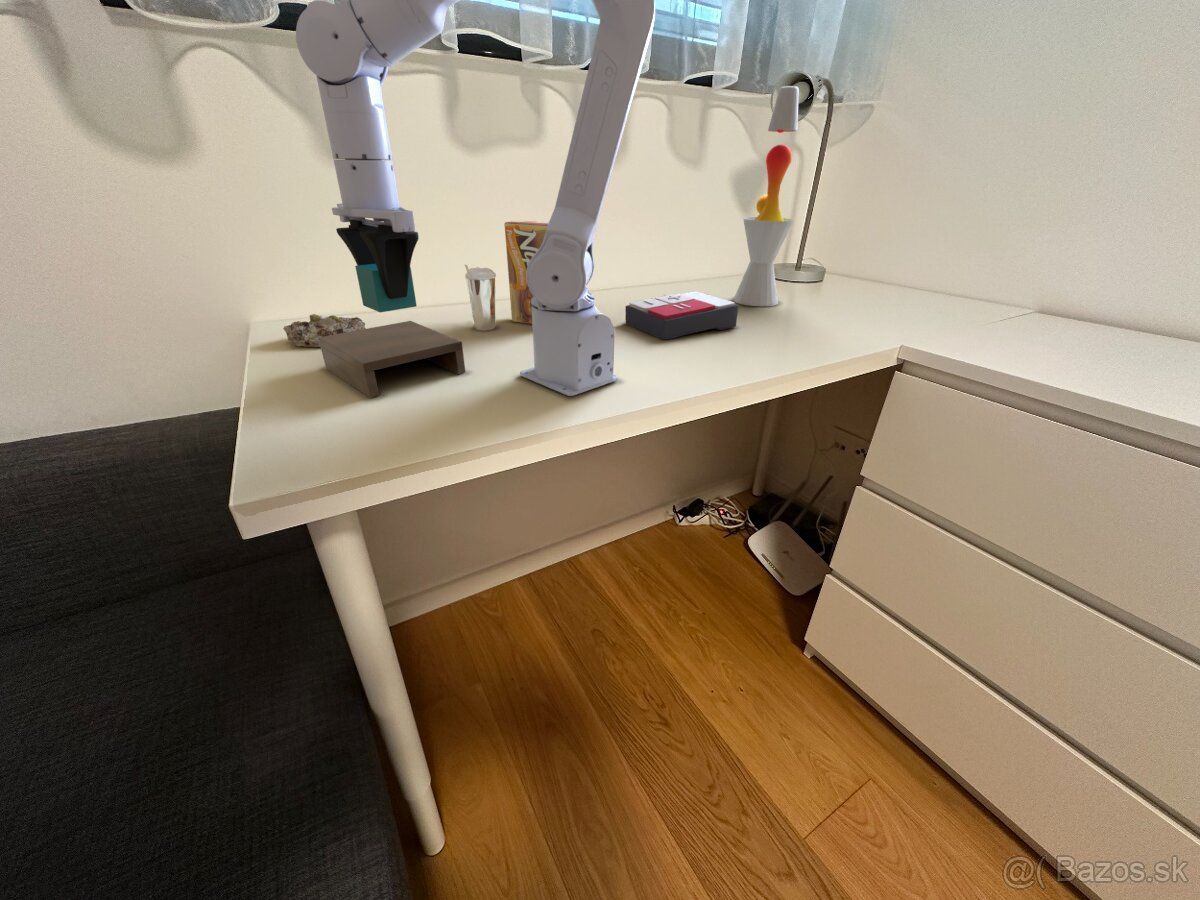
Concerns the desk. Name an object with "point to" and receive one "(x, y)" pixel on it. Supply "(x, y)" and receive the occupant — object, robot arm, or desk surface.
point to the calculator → (681, 314)
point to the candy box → (522, 263)
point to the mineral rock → (320, 329)
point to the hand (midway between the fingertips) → (387, 293)
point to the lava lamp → (769, 211)
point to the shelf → (387, 352)
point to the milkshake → (482, 296)
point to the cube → (381, 291)
